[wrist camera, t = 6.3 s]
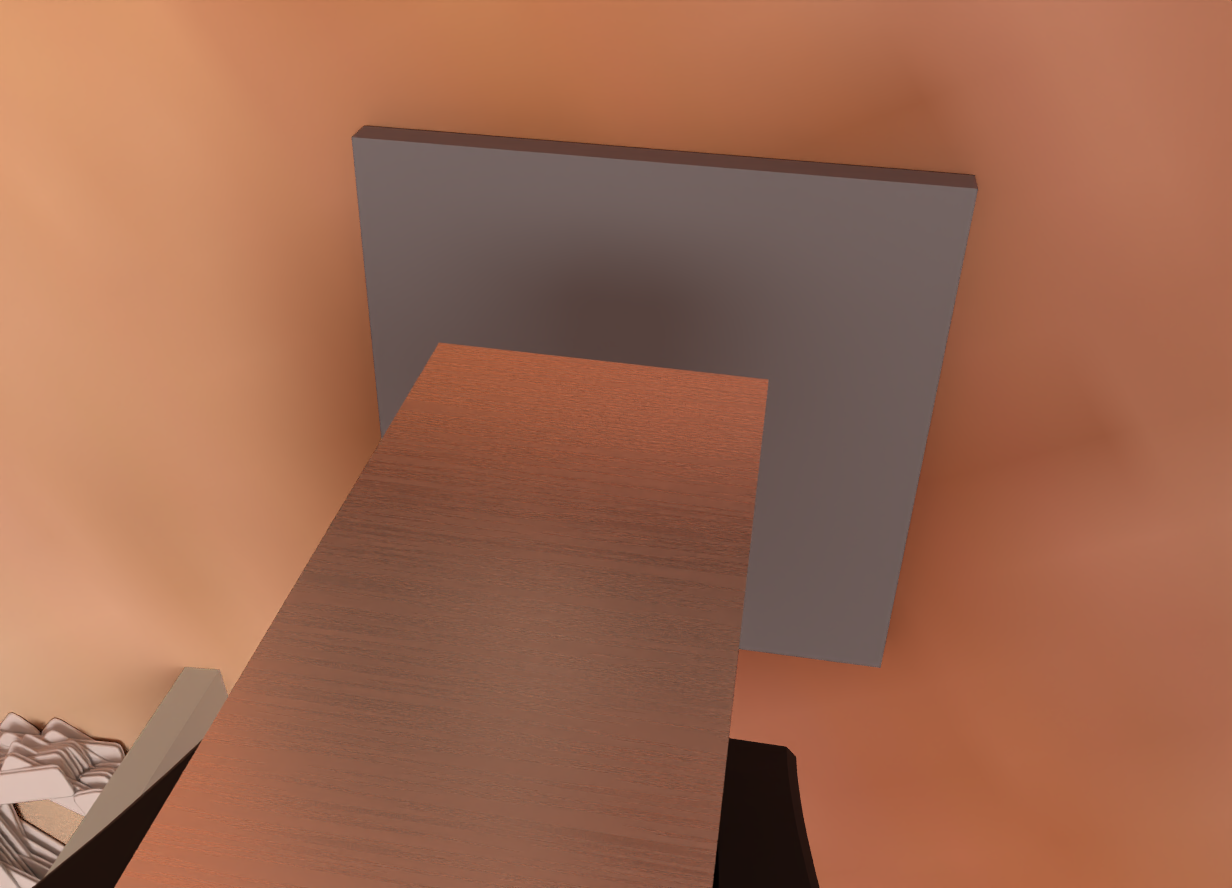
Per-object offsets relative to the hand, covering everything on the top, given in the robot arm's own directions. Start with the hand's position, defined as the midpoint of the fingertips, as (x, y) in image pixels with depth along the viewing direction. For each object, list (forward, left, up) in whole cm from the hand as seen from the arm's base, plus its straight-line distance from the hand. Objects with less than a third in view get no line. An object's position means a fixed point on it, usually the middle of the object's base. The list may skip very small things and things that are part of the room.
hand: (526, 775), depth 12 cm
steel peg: (0, -1, -4) cm, 4 cm away
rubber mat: (0, +2, -10) cm, 11 cm away
